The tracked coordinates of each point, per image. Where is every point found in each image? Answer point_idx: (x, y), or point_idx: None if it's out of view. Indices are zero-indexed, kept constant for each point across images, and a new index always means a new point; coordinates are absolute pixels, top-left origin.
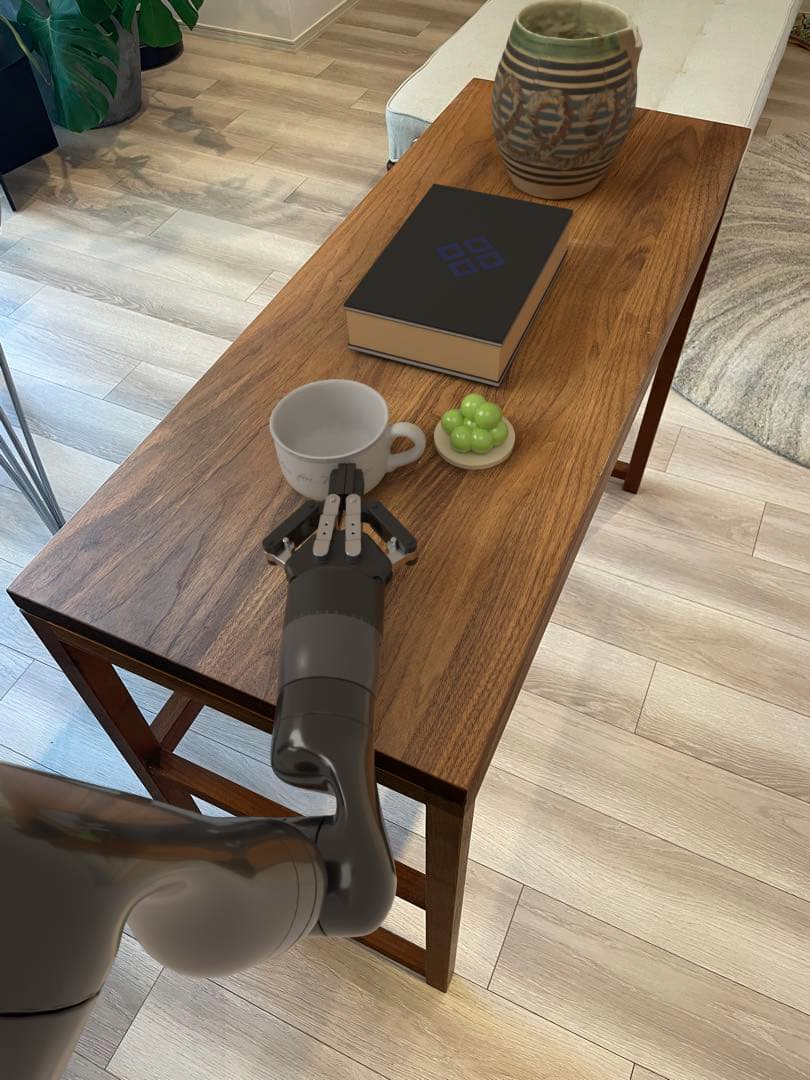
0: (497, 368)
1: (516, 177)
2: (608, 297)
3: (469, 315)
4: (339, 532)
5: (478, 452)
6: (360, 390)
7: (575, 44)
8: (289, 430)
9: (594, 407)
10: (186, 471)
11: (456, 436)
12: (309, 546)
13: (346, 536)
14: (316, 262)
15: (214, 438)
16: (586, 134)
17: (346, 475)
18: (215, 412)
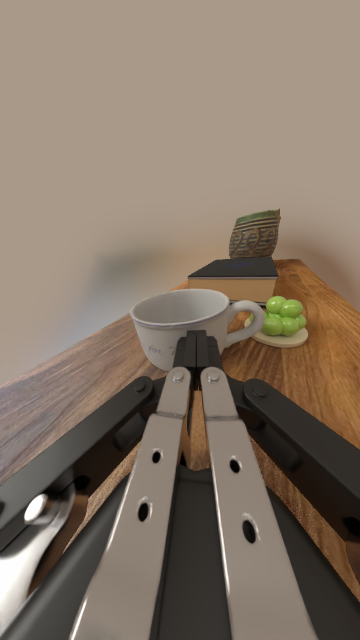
0: (271, 294)
1: None
2: (294, 282)
3: (250, 272)
4: (193, 487)
5: (289, 334)
6: (200, 293)
7: (261, 213)
8: (153, 321)
9: (337, 312)
10: (94, 350)
11: (271, 322)
12: (83, 575)
13: (226, 557)
14: (178, 285)
15: (119, 333)
16: (266, 242)
17: (197, 341)
18: (126, 323)
